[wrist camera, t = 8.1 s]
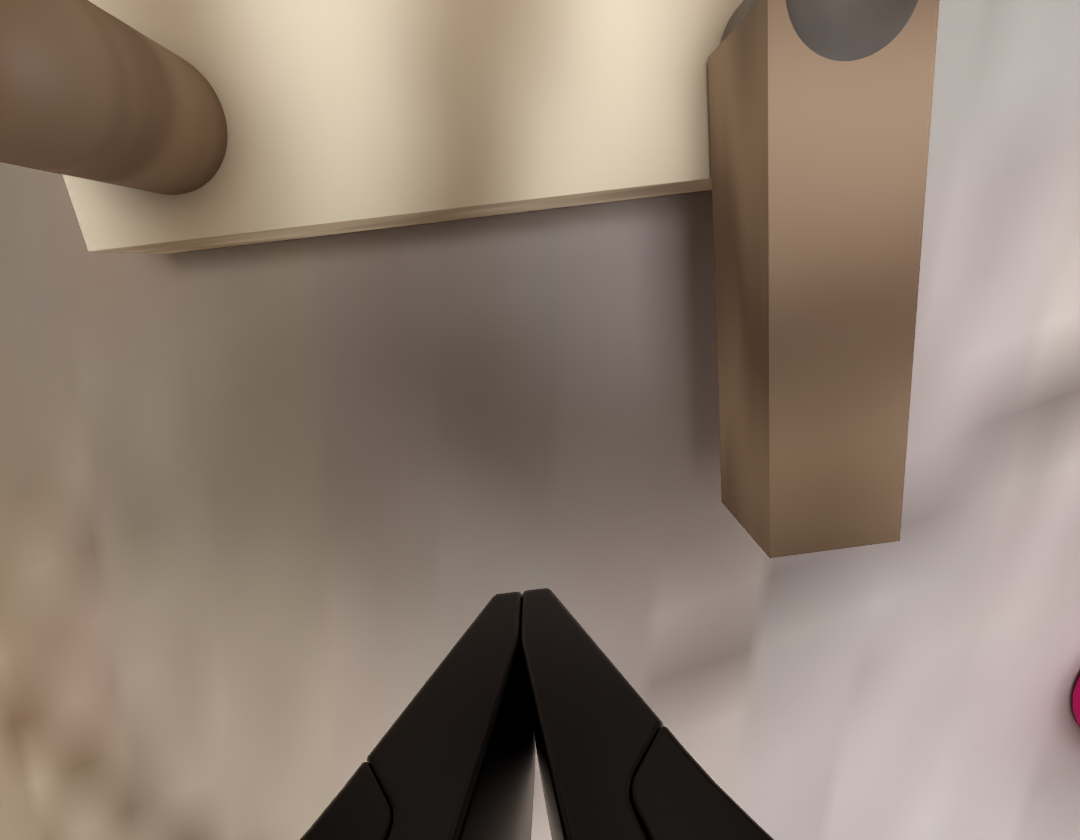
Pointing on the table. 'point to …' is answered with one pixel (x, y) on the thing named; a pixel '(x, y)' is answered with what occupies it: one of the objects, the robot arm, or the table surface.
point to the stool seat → (351, 111)
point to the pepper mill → (1077, 701)
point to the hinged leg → (818, 261)
